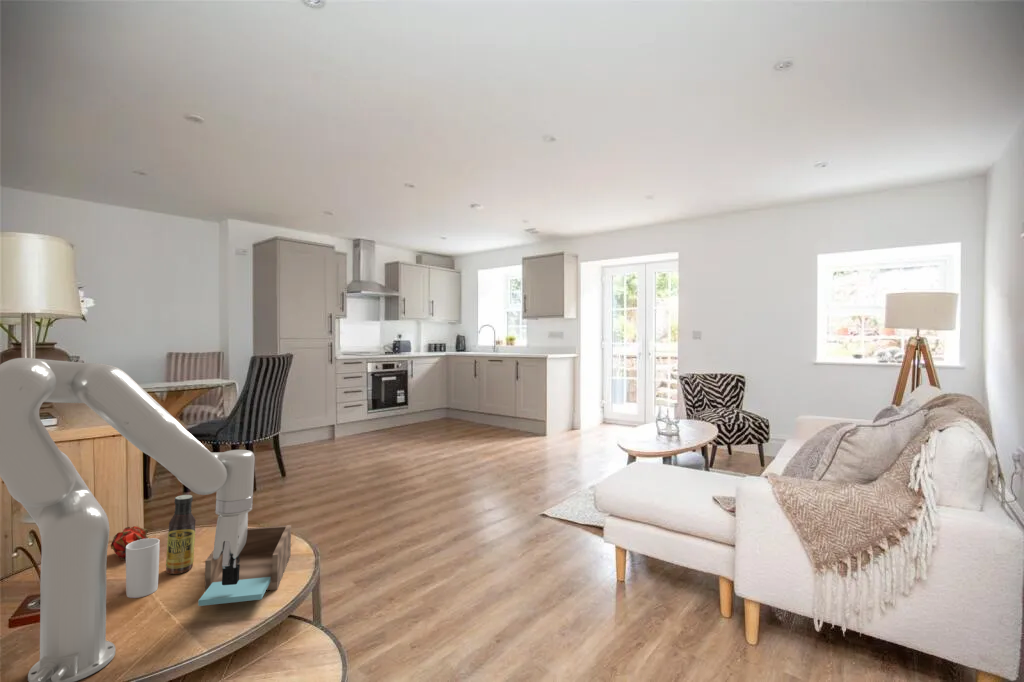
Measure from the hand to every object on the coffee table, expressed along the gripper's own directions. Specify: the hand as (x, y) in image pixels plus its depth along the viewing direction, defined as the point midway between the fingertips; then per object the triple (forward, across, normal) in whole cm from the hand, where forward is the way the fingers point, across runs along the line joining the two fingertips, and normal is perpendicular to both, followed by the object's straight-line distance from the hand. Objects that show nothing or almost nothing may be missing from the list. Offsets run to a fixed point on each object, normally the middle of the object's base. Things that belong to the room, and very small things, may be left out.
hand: (230, 583), depth 116 cm
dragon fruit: (+7, -38, -35) cm, 52 cm away
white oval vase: (+7, -16, -23) cm, 29 cm away
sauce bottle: (+7, -24, -18) cm, 31 cm away
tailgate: (+4, -8, +1) cm, 8 cm away
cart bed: (+6, -18, +1) cm, 19 cm away
